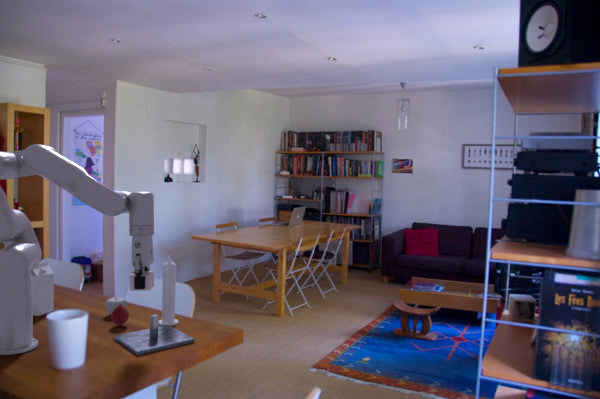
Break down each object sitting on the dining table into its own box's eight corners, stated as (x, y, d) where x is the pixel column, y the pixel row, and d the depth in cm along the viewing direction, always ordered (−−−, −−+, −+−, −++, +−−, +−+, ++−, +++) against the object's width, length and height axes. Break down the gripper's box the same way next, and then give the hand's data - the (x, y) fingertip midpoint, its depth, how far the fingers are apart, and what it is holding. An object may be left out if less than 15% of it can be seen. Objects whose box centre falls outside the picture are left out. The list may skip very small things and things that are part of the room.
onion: (122, 329, 163) (122, 306, 163) (107, 327, 165) (108, 305, 164) (131, 324, 169) (132, 302, 169) (117, 322, 170) (117, 301, 170)
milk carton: (23, 313, 177) (24, 263, 176) (40, 309, 184) (40, 261, 183) (37, 316, 174) (37, 265, 174) (53, 311, 181) (54, 262, 180)
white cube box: (149, 290, 148) (149, 272, 147) (130, 290, 147) (129, 273, 147) (153, 285, 154) (153, 268, 153) (135, 286, 153) (134, 269, 153)
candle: (182, 322, 174) (183, 255, 172) (169, 327, 167) (170, 257, 166) (167, 319, 177) (168, 253, 175) (153, 324, 170) (155, 255, 169)
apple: (112, 319, 174) (112, 301, 174) (100, 314, 179) (100, 297, 179) (131, 314, 181) (131, 297, 180) (119, 310, 185) (119, 294, 185)
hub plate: (137, 355, 140) (137, 328, 140) (114, 339, 154) (114, 314, 153) (194, 342, 153) (194, 317, 153) (168, 328, 166) (168, 305, 166)
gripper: (147, 233, 141) (148, 293, 142) (159, 227, 158) (159, 280, 159) (122, 233, 140) (122, 293, 141) (136, 227, 158) (136, 280, 158)
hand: (142, 285), depth 150 cm, fingers closed on white cube box, 6 cm apart
